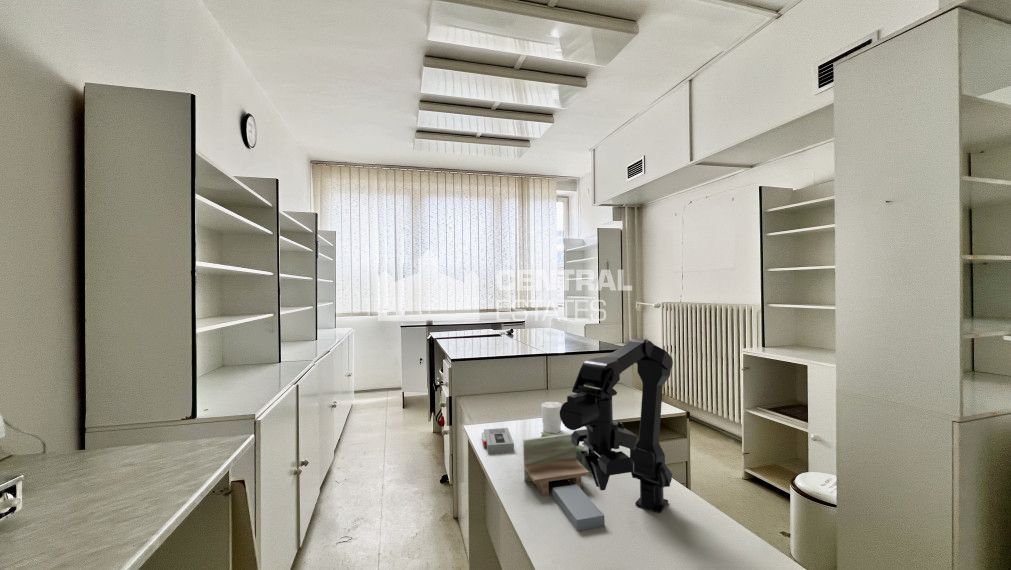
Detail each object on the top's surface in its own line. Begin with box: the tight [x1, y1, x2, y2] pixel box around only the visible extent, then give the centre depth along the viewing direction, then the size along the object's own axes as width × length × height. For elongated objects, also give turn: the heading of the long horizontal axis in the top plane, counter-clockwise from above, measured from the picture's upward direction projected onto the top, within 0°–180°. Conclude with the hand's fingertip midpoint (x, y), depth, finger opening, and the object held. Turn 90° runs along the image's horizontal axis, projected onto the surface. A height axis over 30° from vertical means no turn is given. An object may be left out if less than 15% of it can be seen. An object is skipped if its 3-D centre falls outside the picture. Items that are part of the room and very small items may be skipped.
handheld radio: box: [540, 431, 590, 472], centre depth 139 cm, size 7×3×25 cm
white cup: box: [541, 401, 563, 434], centre depth 165 cm, size 8×8×10 cm
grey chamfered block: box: [552, 484, 606, 531], centre depth 107 cm, size 16×7×2 cm, turn 14°
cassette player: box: [481, 427, 515, 454], centre depth 153 cm, size 16×3×10 cm
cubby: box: [522, 432, 590, 496], centre depth 121 cm, size 10×16×12 cm, turn 104°
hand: (600, 488), depth 94 cm, fingers closed
